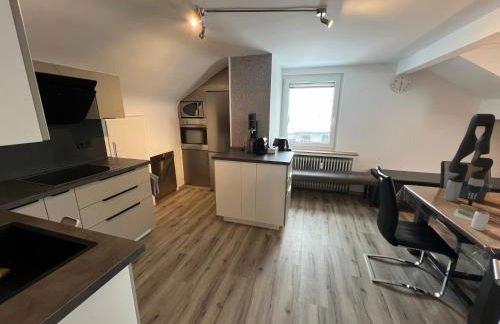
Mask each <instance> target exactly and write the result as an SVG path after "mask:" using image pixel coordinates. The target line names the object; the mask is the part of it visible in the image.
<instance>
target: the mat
mask: <svg viewBox="0 0 500 324" xmlns="http://www.w3.org/2000/svg"><path fill="white" fill-rule="evenodd" d="M458 210H459V208H456V209H455V211H454V213H453V215H452V216H453V217H458V218H460V219H465V220H469V221H471V222H472V220H473V217H472V216H468V215H464V214H461V213H458Z"/></svg>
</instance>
